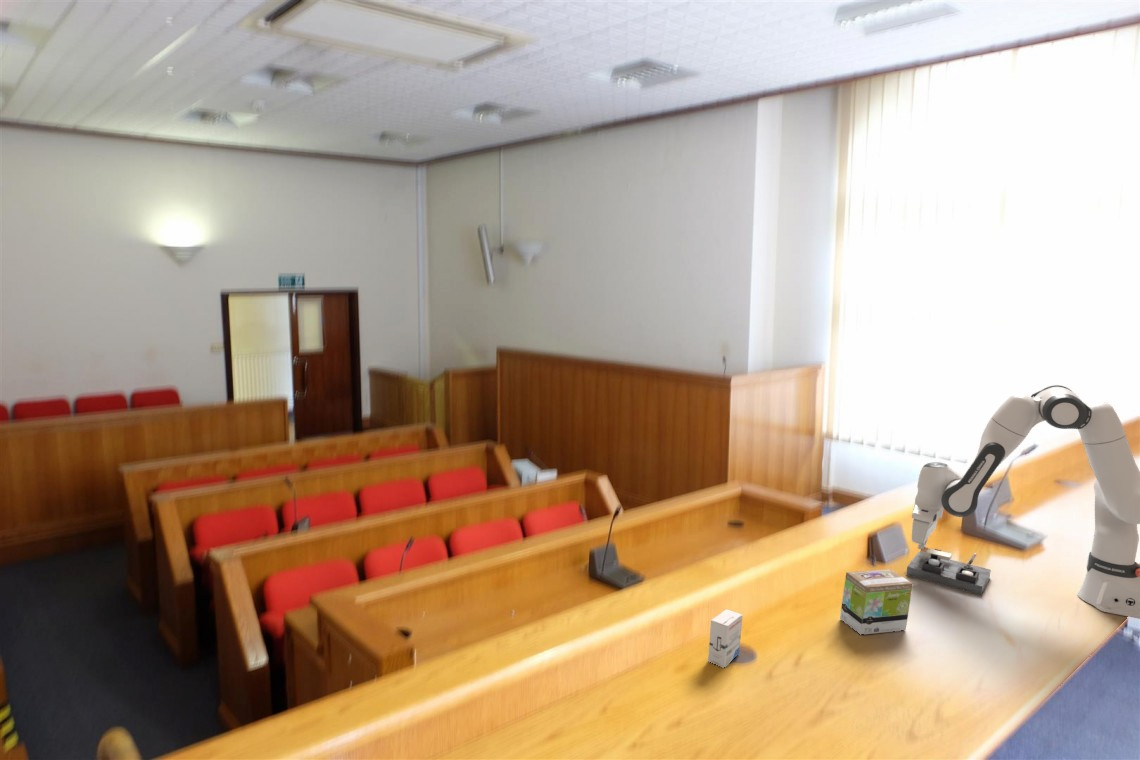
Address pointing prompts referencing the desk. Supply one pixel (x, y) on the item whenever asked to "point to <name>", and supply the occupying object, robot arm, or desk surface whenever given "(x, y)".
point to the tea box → (876, 601)
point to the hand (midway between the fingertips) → (921, 548)
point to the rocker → (936, 553)
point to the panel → (949, 573)
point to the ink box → (725, 637)
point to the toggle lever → (971, 560)
